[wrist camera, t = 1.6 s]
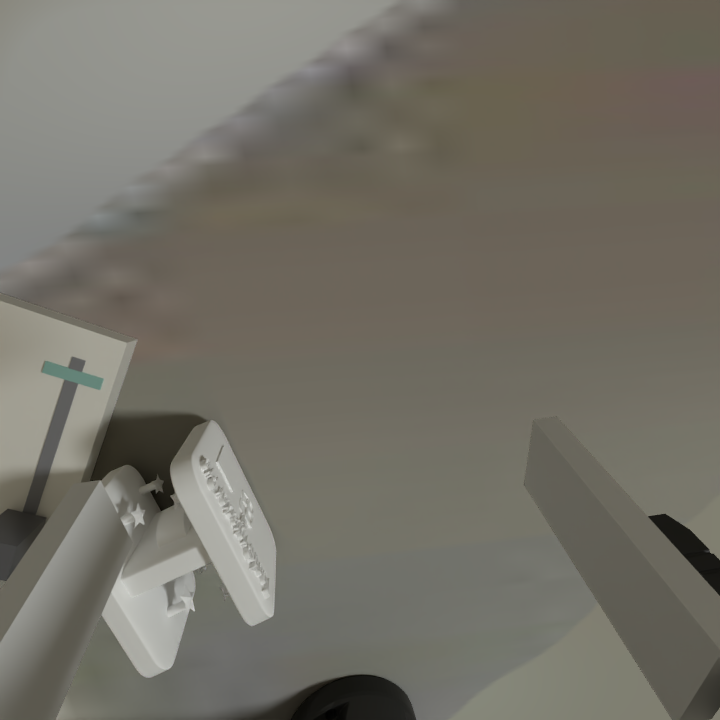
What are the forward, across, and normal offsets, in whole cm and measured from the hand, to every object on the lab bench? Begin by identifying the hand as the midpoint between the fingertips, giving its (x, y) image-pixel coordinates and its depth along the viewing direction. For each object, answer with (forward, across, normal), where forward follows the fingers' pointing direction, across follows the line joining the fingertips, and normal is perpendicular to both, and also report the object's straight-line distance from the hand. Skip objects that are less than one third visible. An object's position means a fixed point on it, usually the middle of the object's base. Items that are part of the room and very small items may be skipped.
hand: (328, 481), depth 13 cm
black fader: (+17, +27, +17) cm, 37 cm away
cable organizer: (+21, +14, +20) cm, 33 cm away
